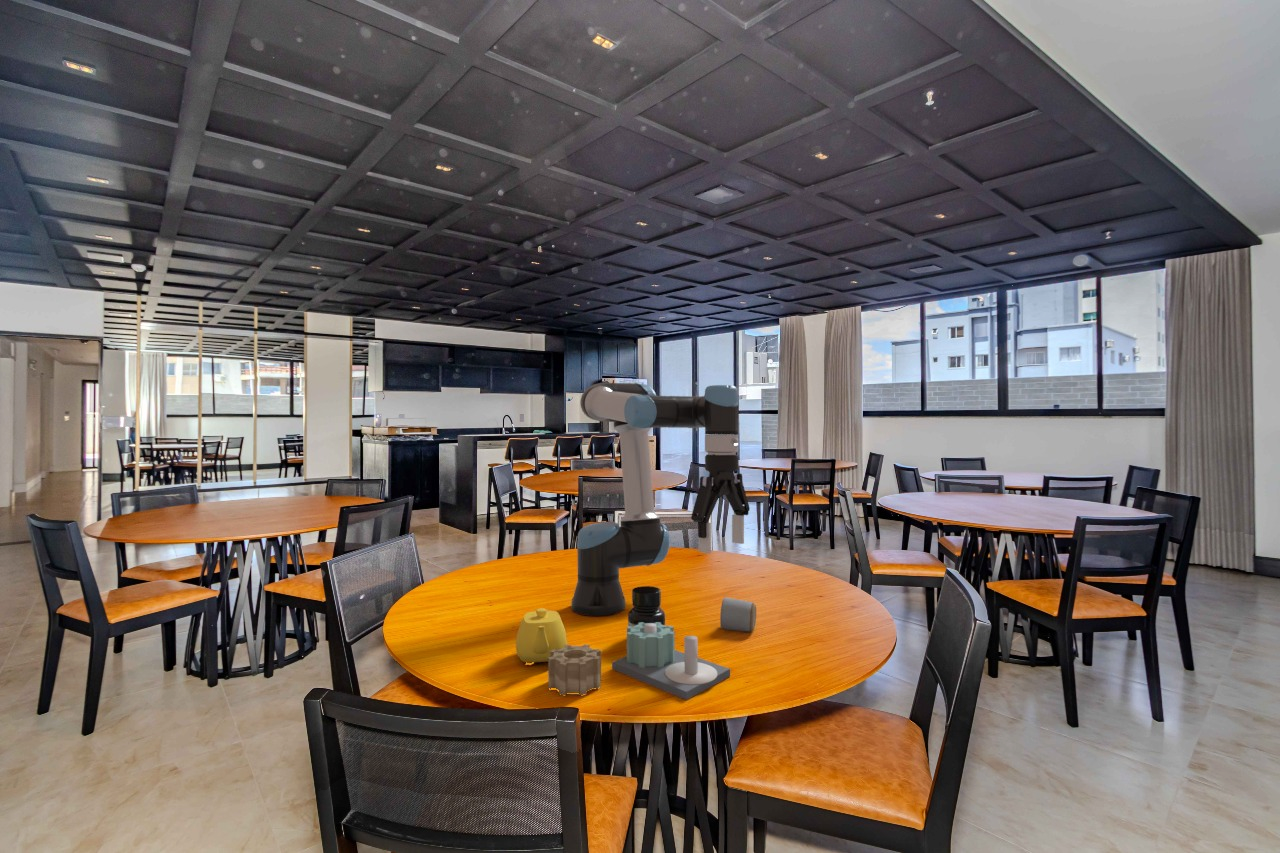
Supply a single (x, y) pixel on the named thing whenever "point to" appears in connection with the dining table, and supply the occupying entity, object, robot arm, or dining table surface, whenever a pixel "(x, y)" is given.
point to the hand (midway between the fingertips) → (722, 547)
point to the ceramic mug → (737, 615)
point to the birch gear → (574, 669)
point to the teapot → (540, 635)
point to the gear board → (664, 681)
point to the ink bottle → (646, 606)
